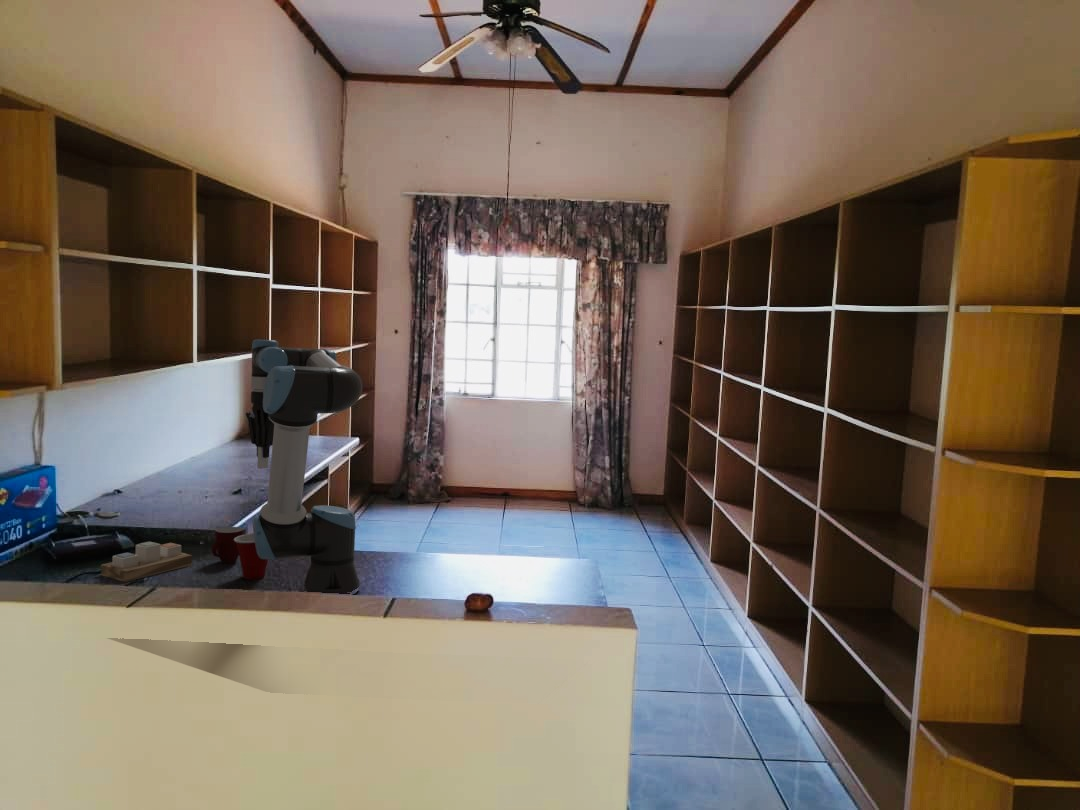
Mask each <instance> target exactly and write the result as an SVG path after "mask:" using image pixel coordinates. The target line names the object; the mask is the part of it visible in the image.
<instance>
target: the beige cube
mask: <svg viewBox="0 0 1080 810" xmlns="http://www.w3.org/2000/svg"><path fill="white" fill-rule="evenodd" d="M181 553H182V545H181V544H179V543H178V544H177V543H173V542H168V543H164V544H160V557H164V558H170V557H174V556H178V555H181Z"/></svg>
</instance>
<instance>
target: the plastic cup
mask: <svg viewBox="0 0 1080 810" xmlns="http://www.w3.org/2000/svg"><path fill="white" fill-rule="evenodd" d="M234 541H235V542H236V544H237V547H238V551H239V557H238V558H239V561H240V566H241V572H242V576H243V578H244V579H246V580H257V579H262V578H264V577H265V575H266V571H267V566H268V561H269V559H261V558H260V557H259V556H258V554H257V551H256V546H255V540H254V533H253V532H252V533H246V534H244V535H241V536H238V537H236V538H234Z"/></svg>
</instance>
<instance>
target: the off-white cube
mask: <svg viewBox="0 0 1080 810" xmlns="http://www.w3.org/2000/svg"><path fill="white" fill-rule="evenodd" d="M111 559H112V567H116V568H120V569H125V568H129V567H133V566H137V565H138V555H136V553H131V552H123V553H119V554H115V555H112V558H111Z"/></svg>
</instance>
